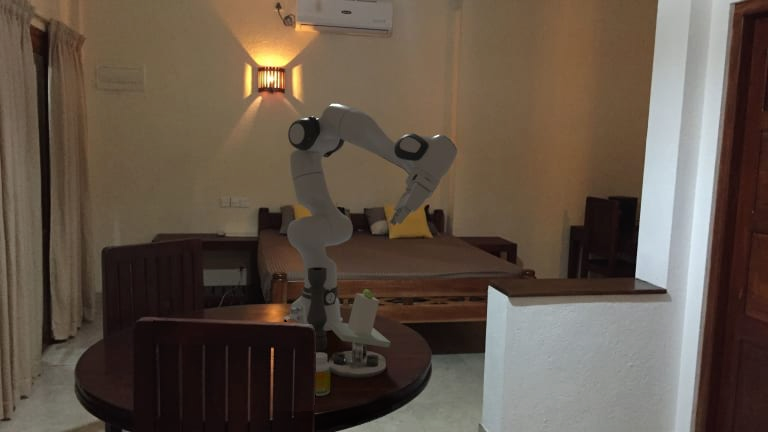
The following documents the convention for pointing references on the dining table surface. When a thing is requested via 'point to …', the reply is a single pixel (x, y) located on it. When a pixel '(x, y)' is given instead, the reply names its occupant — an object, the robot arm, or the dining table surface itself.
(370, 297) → the white stepped fixture
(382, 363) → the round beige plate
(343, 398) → the dining table surface
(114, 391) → the dining table surface
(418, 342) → the dining table surface
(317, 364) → the supplement bottle
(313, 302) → the candle holder
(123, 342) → the dining table surface
